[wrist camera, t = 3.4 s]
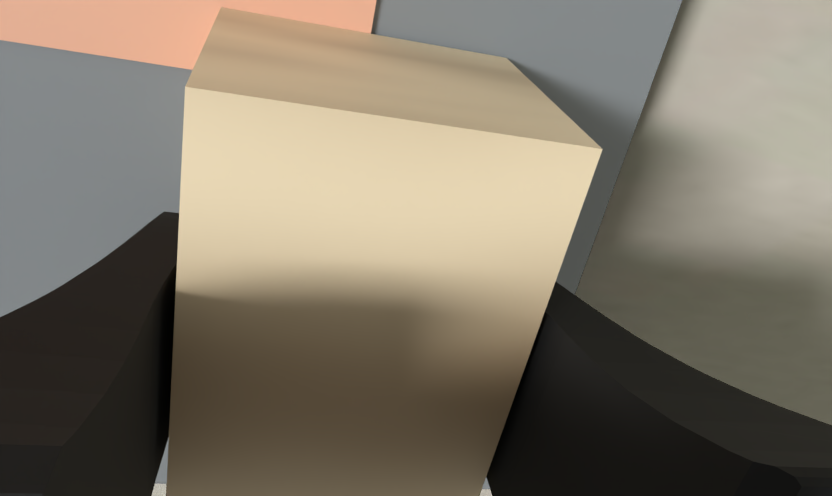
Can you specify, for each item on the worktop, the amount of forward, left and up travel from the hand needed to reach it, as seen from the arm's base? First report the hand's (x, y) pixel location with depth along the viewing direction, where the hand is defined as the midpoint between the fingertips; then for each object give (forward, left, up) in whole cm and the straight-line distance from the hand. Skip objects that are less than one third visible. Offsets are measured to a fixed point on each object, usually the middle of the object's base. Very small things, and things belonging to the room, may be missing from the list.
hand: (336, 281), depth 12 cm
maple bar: (0, 0, -1) cm, 1 cm away
